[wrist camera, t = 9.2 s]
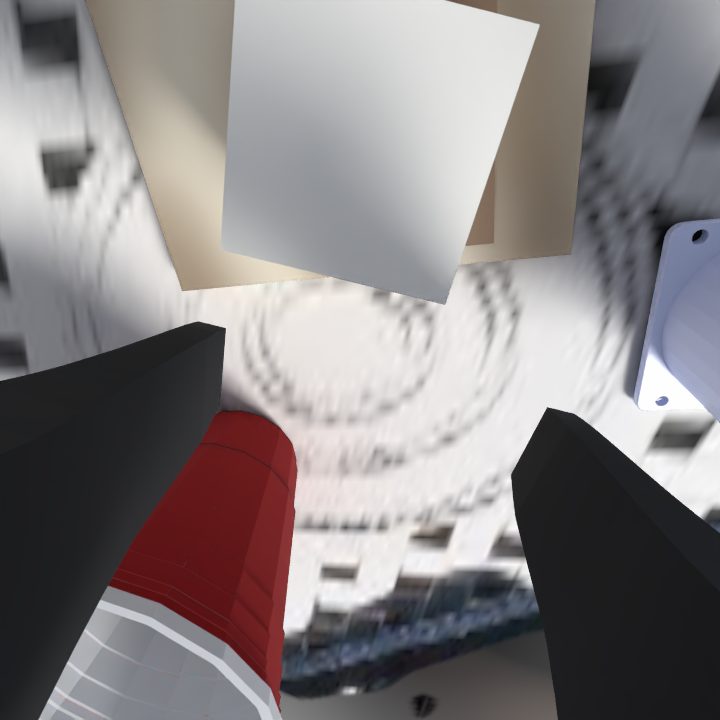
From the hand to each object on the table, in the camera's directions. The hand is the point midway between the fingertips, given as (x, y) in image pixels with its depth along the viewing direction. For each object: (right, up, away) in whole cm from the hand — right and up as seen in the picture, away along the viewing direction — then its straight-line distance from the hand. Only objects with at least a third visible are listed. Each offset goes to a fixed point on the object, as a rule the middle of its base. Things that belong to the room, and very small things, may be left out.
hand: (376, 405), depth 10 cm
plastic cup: (-7, -4, +14) cm, 16 cm away
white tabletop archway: (0, +8, +5) cm, 10 cm away
